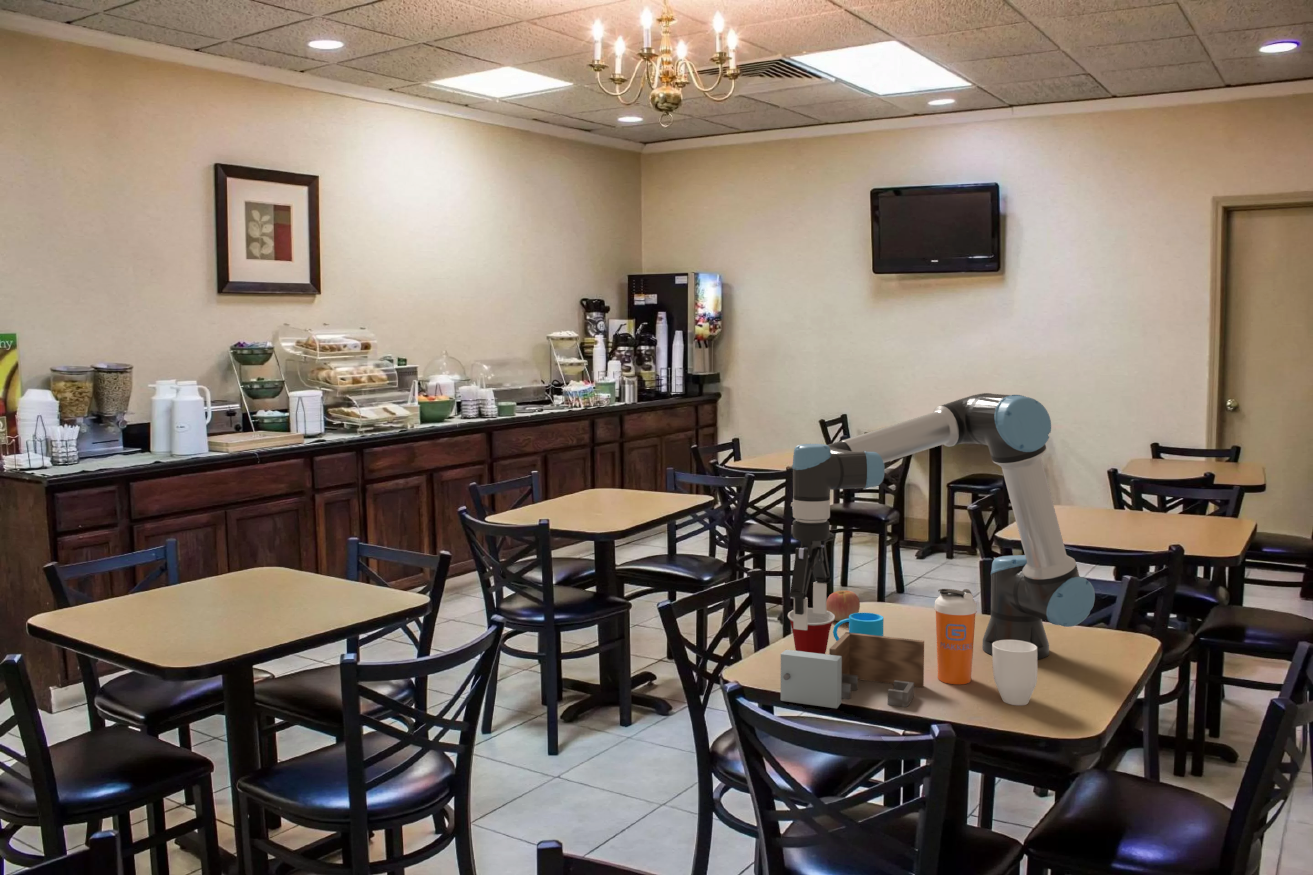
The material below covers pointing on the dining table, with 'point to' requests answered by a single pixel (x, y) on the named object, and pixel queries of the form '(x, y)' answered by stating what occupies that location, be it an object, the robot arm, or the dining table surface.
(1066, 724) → the dining table surface
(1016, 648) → the mug
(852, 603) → the apple
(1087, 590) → the robot arm
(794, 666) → the door
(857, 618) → the mug
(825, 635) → the plastic cup
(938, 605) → the shaker bottle
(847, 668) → the cabinet
